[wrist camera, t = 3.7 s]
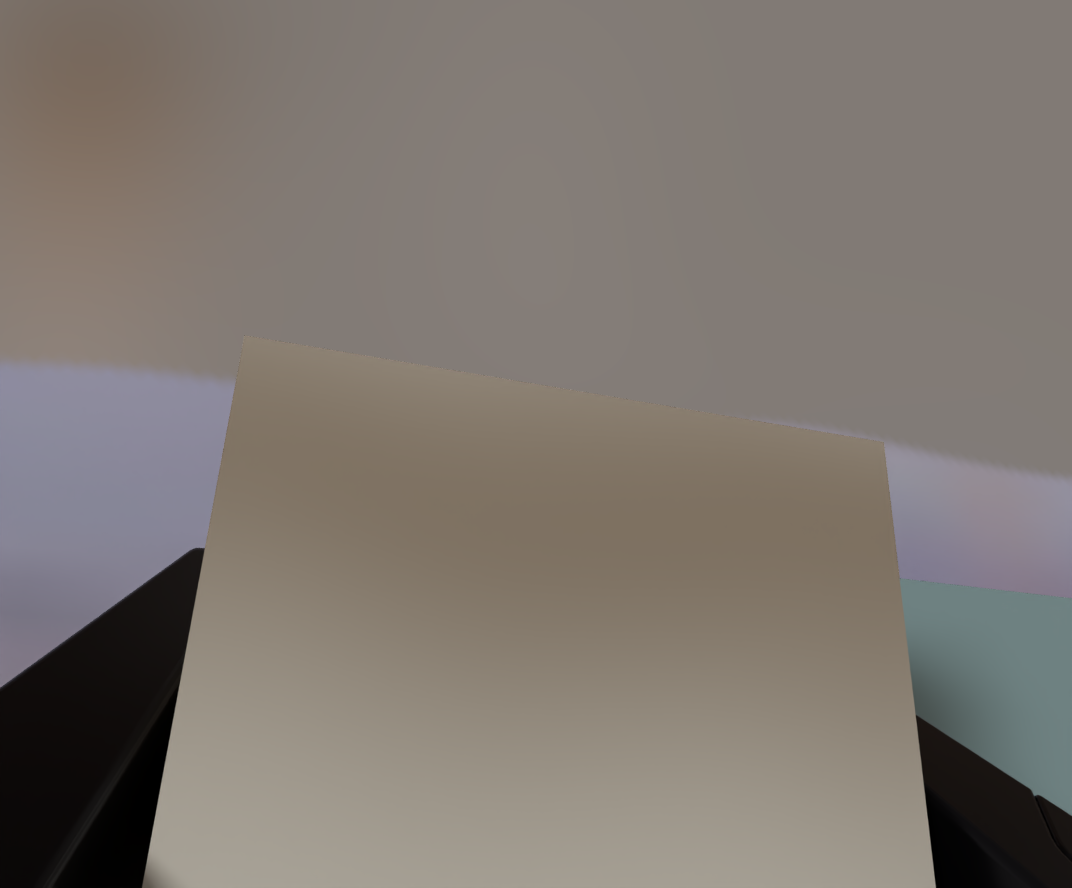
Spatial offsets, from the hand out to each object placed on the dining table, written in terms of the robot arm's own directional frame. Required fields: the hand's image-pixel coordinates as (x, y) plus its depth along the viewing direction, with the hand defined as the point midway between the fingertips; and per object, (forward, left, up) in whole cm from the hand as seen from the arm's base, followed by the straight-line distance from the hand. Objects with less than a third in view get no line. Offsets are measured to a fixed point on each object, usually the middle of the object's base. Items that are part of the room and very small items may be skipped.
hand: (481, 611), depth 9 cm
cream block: (-1, 0, -7) cm, 7 cm away
